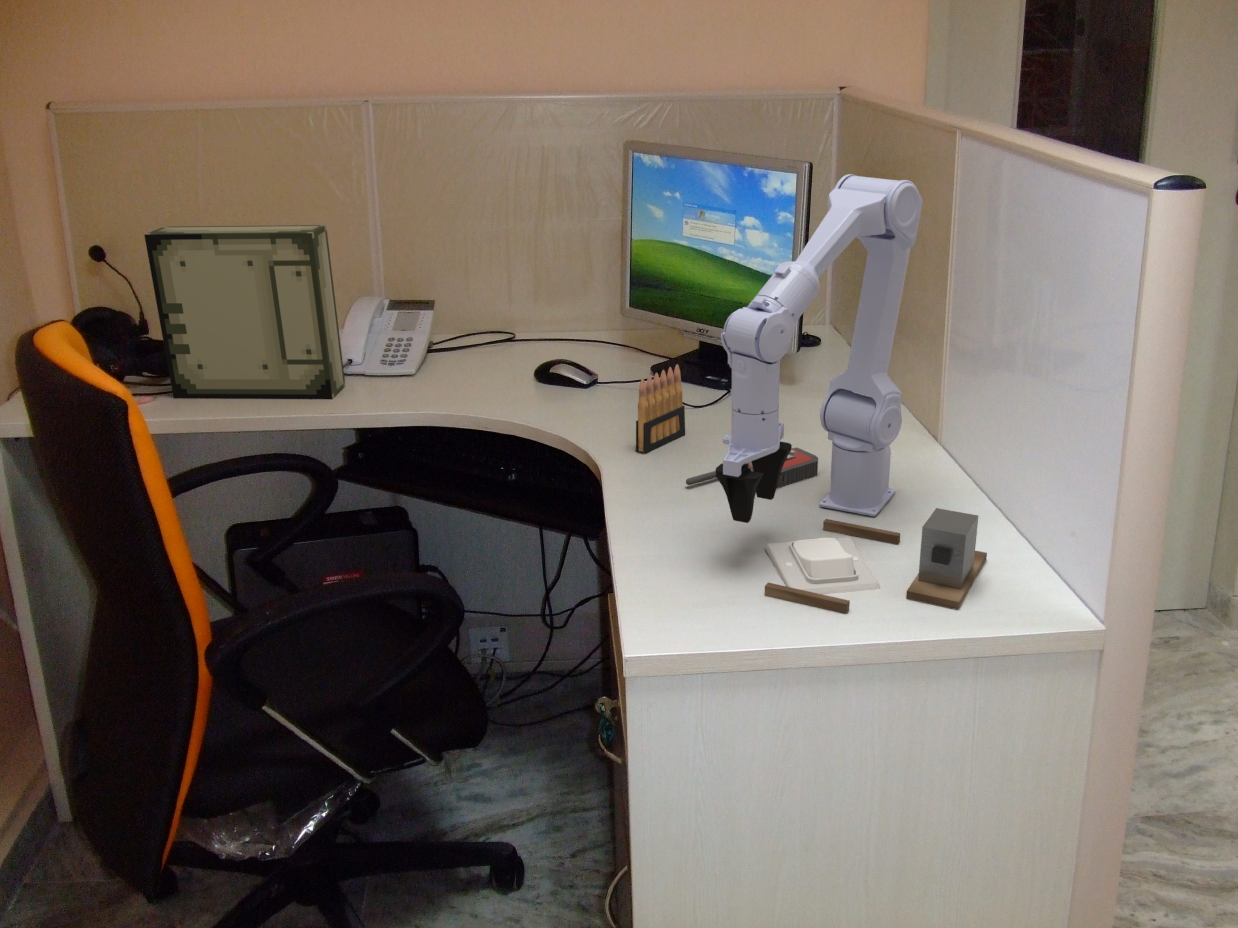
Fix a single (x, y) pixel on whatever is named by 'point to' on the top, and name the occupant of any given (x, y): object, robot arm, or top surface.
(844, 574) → the light switch
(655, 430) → the ammunition clip
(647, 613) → the top surface
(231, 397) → the control panel
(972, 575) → the mounting board
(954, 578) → the junction box
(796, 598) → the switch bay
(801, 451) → the walkie-talkie
